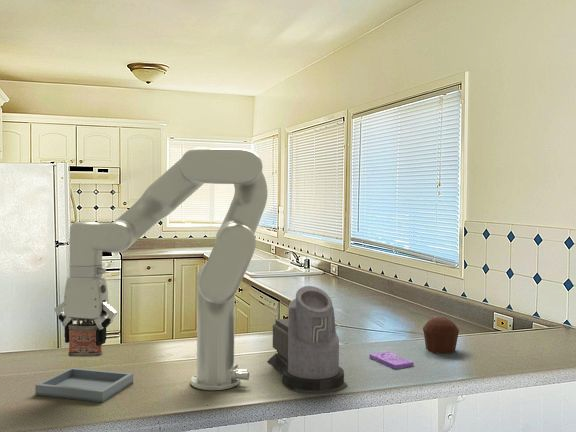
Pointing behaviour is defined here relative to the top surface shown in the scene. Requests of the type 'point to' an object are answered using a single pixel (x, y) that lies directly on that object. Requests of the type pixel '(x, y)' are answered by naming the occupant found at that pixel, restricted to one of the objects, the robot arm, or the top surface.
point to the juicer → (308, 345)
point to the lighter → (83, 339)
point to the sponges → (391, 360)
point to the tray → (84, 384)
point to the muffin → (440, 335)
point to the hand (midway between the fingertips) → (85, 342)
